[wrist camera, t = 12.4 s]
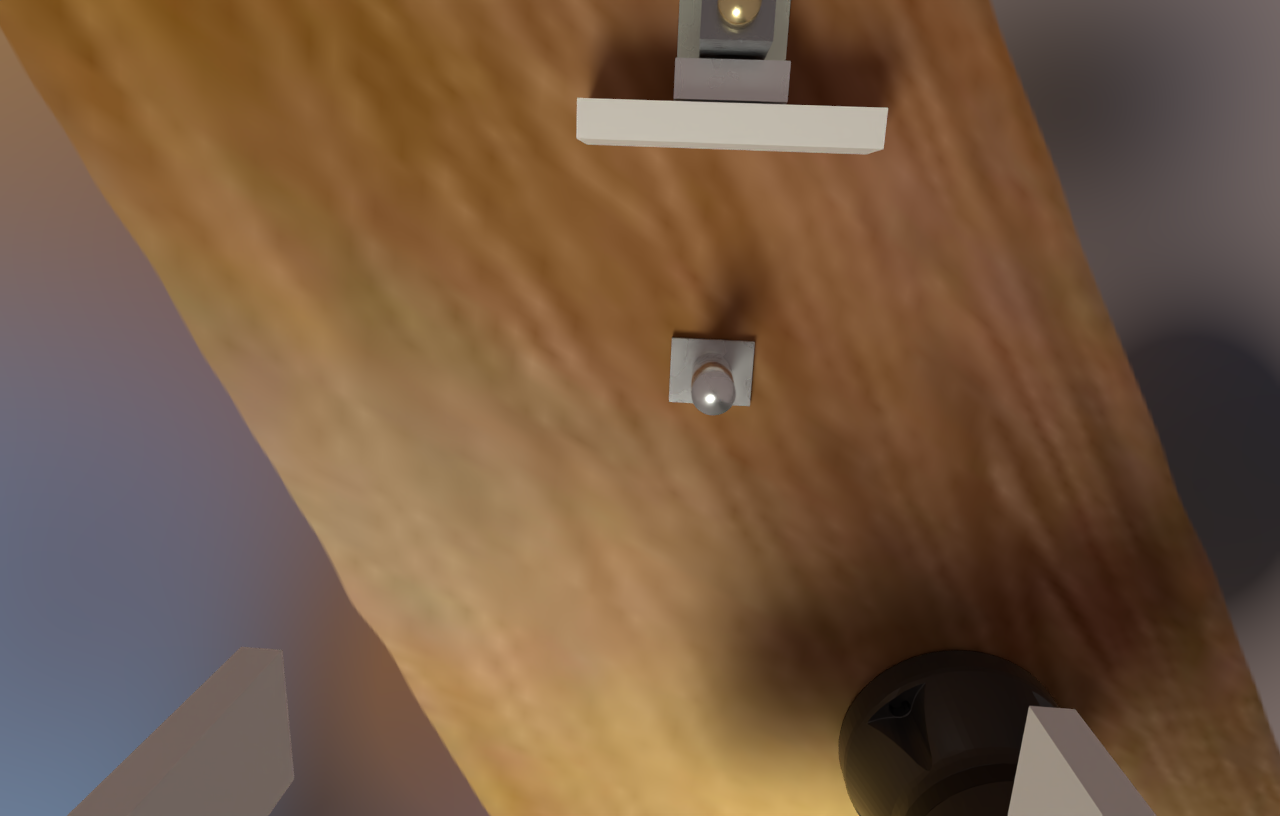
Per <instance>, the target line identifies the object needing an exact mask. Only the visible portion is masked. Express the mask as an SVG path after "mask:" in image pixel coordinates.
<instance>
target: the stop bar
mask: <svg viewBox="0 0 1280 816" xmlns="http://www.w3.org/2000/svg"><path fill="white" fill-rule="evenodd" d="M775 11H776V0H702V7H701V25H700V47H699V58H707V59H742V60H764V59H765V57H766V55H767V53H768V51H769V49H770V47H771V45H772V42H773V37H774V24H775Z"/></svg>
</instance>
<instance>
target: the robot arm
mask: <svg viewBox="0 0 1280 816" xmlns="http://www.w3.org/2000/svg"><path fill="white" fill-rule="evenodd" d="M839 760H840V766H841V770H842V773H843V777H844V781H845V785H846V788H847V792H848V794H849V797H850V800H851V802H852V804H853V806H854V808H855V810H856V811H857V813H858V815H859V816H1156V815H1155V813H1154V812H1153V811H1152V809H1151V808H1150V807H1149V805H1148V804H1147V803H1146V801H1145V800H1144V799H1143V798H1142V796H1141V795H1140V794H1139V792H1138V791H1137V790H1136V788H1135V787H1134V786H1133V784H1132V783H1131V782H1130V780H1129V779H1128V778H1127V777H1126V775H1125V774H1124V773H1123V771H1122V770H1121V769H1120V767H1119V766H1118V765H1117V763H1116V762H1115V761H1114V759H1113V758H1112V757H1111V756H1110V754H1109V753H1108V752H1107V750H1106V749H1105V748H1104V746H1103V745H1102V744H1101V742H1100V741H1099V740H1098V738H1097V737H1096V736H1095V735H1094V733H1093V732H1092V731H1091V729H1090V728H1089V727H1088V725H1087V724H1086V723H1085V721H1084V720H1083V719H1082V717H1081V716H1080V715H1079V713H1078V712H1077V711H1076V710H1075V709H1065V708H1060V707H1059V706H1058V704H1057V703H1056V702H1055V700H1054V699H1053V698H1052V696H1051V695H1050V694H1049V692H1048V691H1047V690H1046V688H1045V687H1044V686H1043V685H1042V684H1041V683H1040V682H1039V681H1038V680H1037V679H1036V678H1035V677H1033V676H1032V675H1031V674H1030V673H1028V672H1027V671H1025V670H1024V669H1023V668H1021V667H1019V666H1017V665H1016V664H1014V663H1011V662H1009V661H1007V660H1005V659H1002V658H999V657H996V656H993V655H989V654H985V653H980V652H973V651H958V650H957V651H940V652H934V653H929V654H924V655H920V656H917V657H914V658H911V659H908V660H906V661H903V662H901V663H899V664H897V665H895V666H893V667H891V668H890V669H888V670H886V671H885V672H883V673H882V674H880V675H879V676H877V677H876V678H875V679H874V680H873V681H871V682H870V683H869V684H868V685H867V686H866V687H865V688H864V689H863V690H862V691H861V692H860V694H859V695H858V696H857V698H856V699H855V700H854V702H853V703H852V705H851V707H850V708H849V710H848V712H847V714H846V716H845V719H844V722H843V724H842V728H841V732H840V737H839ZM293 780H294V770H293V760H292V749H291V739H290V727H289V717H288V707H287V695H286V684H285V673H284V663H283V652H282V650H275V649H261V648H248V647H241V648H240V649H239V650H238V651H237V652H236V653H234V655H232V656H231V657H230V659H228V660H227V661H226V662H225V663H224V664H223V665H222V666H221V667H220V668H219V669H218V670H217V671H216V672H215V673H214V674H213V675H212V676H211V677H210V678H209V679H208V680H207V681H206V682H205V683H204V684H203V685H201V686H200V687H199V688H198V689H197V690H196V691H195V692H194V693H193V694H192V695H191V696H190V697H189V698H188V699H187V700H186V701H185V702H184V703H183V704H182V705H181V706H180V707H179V708H178V709H177V710H176V711H175V712H174V713H173V714H172V715H170V716H169V717H168V719H167V720H165V721H164V722H163V723H162V724H161V725H160V726H159V727H158V728H157V729H156V730H155V731H154V732H153V733H152V734H151V735H150V736H149V737H148V738H147V739H146V740H145V741H144V742H143V743H142V744H141V745H140V746H138V747H137V749H135V750H134V751H133V752H132V753H131V754H130V755H129V756H128V757H127V758H126V759H125V760H124V761H123V762H122V763H121V764H120V765H119V766H118V767H117V768H116V769H115V770H114V771H113V772H112V773H111V774H110V775H109V776H108V777H107V778H105V779H104V780H103V781H102V782H101V783H100V784H99V785H98V786H97V787H96V788H95V789H94V790H93V791H92V792H91V793H90V794H89V795H88V796H87V797H86V798H85V799H84V800H83V801H82V802H81V803H80V804H79V805H78V806H77V807H76V808H75V809H74V810H72V811H71V812H70V813H69V814H68V816H268V815H269V814H270V813H271V811H272V810H273V808H274V807H275V805H276V804H277V803H278V801H279V800H280V798H281V797H282V795H283V794H284V793H285V791H286V790H287V788H288V787H289V785H290V784H291V783H292V781H293Z"/></svg>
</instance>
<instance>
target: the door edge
mask: <svg viewBox="0 0 1280 816" xmlns="http://www.w3.org/2000/svg"><path fill="white" fill-rule="evenodd" d="M887 114H888V108H879V107H847V106H816V105H785V104H753V103H722V102H691V101H659V100H628V99H597V98H577V139H578V140H580V141H582V142H583V143H585V144H587V145H616V146H644V147H672V148H700V149H729V150H757V151H785V152H814V153H842V154H869V153H873V152H876V151H879V150H882V149H884V140H885V131H886V123H887Z"/></svg>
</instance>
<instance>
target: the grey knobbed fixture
mask: <svg viewBox="0 0 1280 816" xmlns="http://www.w3.org/2000/svg"><path fill="white" fill-rule="evenodd" d="M754 345H755V342H754V341H744V340H724V339H704V338H683V337H672V349H671V369H670V389H669V402H683V403H694V405H695V406H696V408H697V409H698V410H700V411H701V412H703V413H705V414H708V415H719V414H722V413H724V412H726V411H727V410H728V409H730V407H731V406H732V405H738V406H750V397H751V384H752V371H753V358H754Z"/></svg>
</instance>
